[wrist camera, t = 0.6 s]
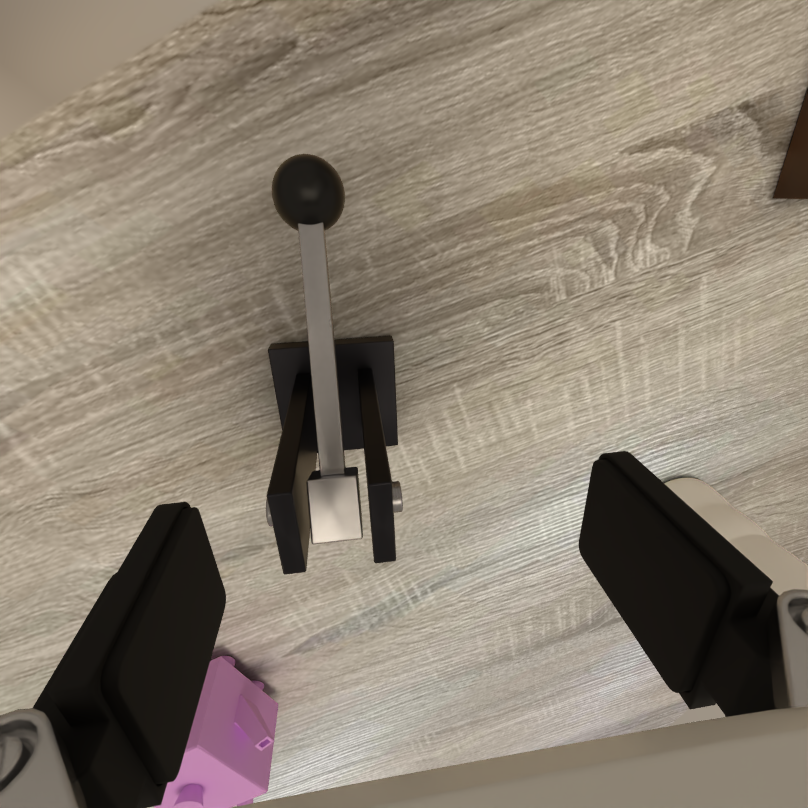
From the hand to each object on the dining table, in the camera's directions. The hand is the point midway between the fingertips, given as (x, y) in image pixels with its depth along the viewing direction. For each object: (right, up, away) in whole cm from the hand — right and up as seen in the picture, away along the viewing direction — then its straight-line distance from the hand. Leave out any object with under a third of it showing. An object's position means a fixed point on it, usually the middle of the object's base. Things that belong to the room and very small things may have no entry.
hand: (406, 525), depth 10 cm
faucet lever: (-4, +5, +11) cm, 13 cm away
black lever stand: (-5, +4, +20) cm, 21 cm away
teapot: (-18, -24, +32) cm, 44 cm away
